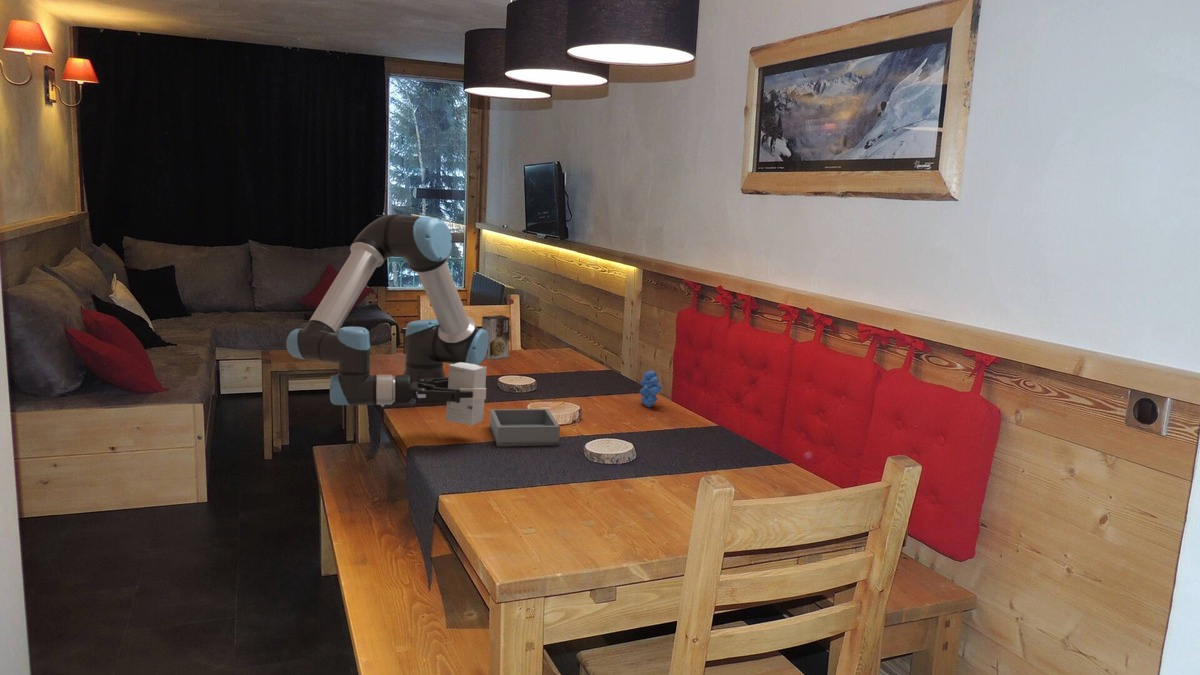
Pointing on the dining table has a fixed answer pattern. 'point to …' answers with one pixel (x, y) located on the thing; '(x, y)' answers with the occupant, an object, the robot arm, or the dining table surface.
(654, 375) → the grapes
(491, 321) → the coffee box
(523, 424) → the tote
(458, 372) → the skincare box
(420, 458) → the dining table surface
